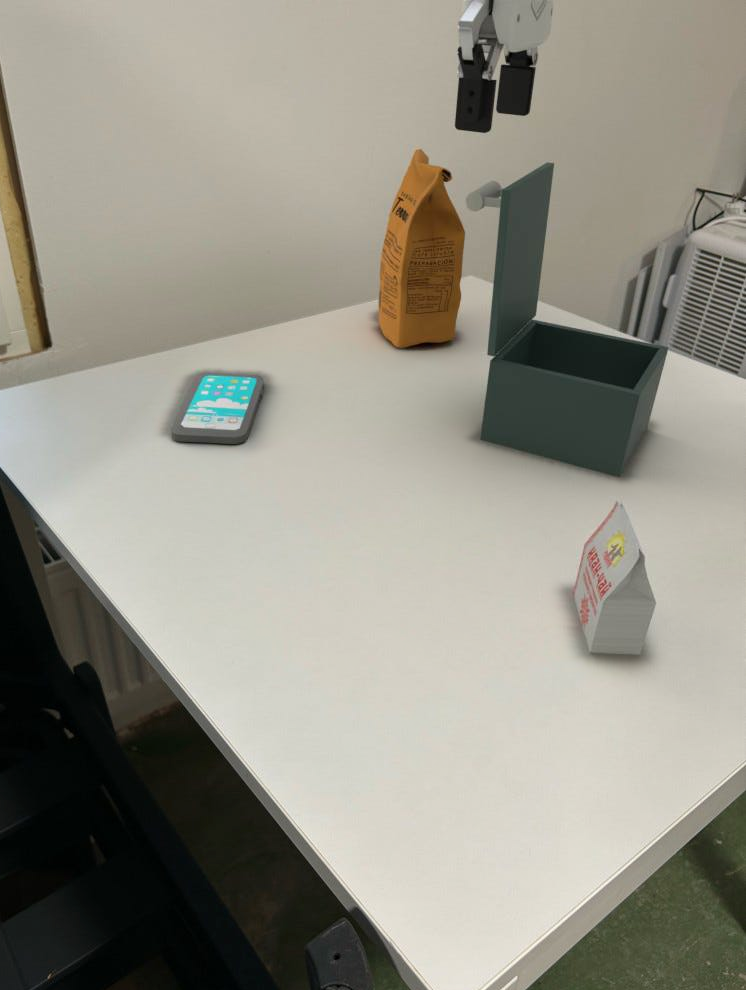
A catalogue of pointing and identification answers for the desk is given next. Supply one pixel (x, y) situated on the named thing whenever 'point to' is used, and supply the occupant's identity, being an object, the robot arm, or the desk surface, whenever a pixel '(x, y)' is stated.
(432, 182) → the coffee package
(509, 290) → the green box lid
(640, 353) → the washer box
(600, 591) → the white paper food bag
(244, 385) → the smartphone
